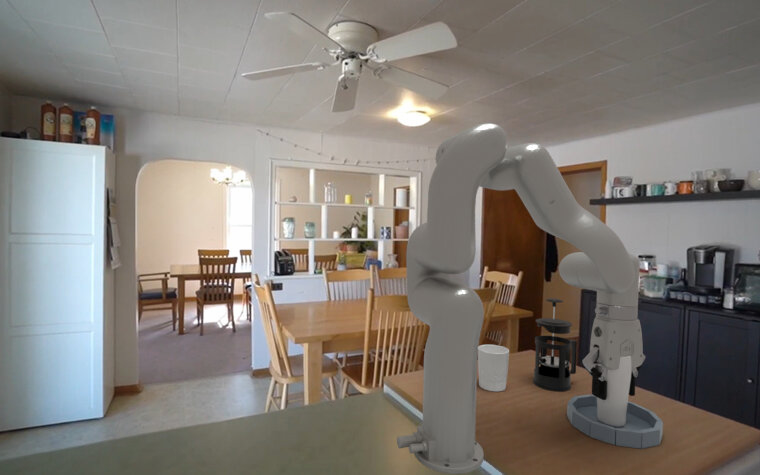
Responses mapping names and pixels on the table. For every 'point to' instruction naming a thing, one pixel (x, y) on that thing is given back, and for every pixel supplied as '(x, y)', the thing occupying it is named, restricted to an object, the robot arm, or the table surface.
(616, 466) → the table surface
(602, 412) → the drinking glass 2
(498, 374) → the white cup
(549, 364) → the french press
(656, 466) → the table surface
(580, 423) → the bowl
